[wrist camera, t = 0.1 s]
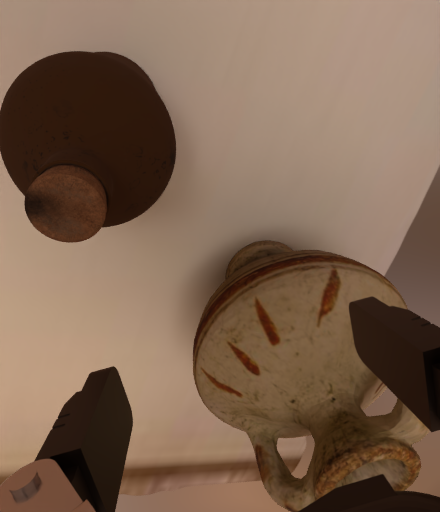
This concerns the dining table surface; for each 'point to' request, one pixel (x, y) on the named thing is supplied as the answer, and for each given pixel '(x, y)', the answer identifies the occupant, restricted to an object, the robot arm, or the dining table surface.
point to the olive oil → (86, 142)
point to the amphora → (301, 371)
